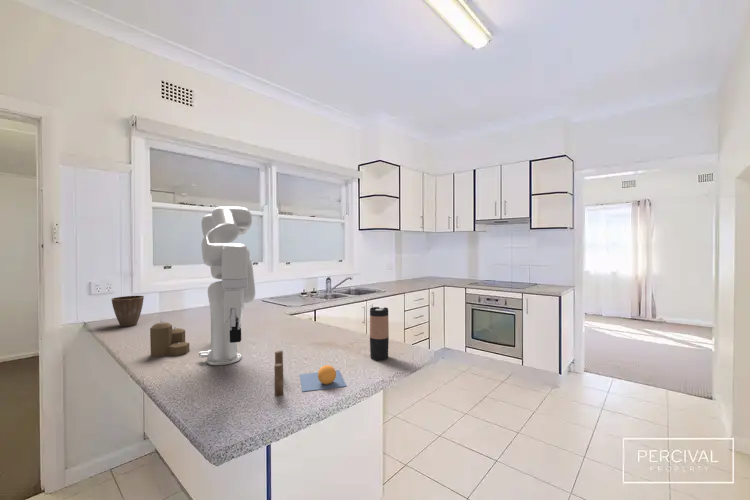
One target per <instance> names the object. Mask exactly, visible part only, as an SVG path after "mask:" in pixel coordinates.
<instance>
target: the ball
mask: <svg viewBox="0 0 750 500" xmlns="http://www.w3.org/2000/svg"><path fill="white" fill-rule="evenodd" d="M317 373H318V379H319V381H320V382H321V383H322V384H325V385H328V384H331V383H332V382H333V381H334V380H335V378H336V369H335V368H334V367H333V366H331V365H329V364H326V365H323V366H322V367H320V368H319V370H318V371H317Z"/></svg>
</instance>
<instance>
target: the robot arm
mask: <svg viewBox="0 0 750 500" xmlns="http://www.w3.org/2000/svg"><path fill="white" fill-rule="evenodd" d="M252 221H253V216H252V213H251V212H250V210H249V209H248V208H246V207H242V206H218V207H215V208H214V209H213V210H212V212H211V214H210V213H209V214H206V215H204V216H203V217H202V219H201V230H202V231H201V233H202V236H203V238H202V241H201V256H202V261H203V263H204V265H206V266H208V267H210V273H211V277H212V278H213V279H215V280H218V281H215V282H212V283H211V284H209V286H208V288H207V297H208V303H209V310H210V311H209V314H210V349H208V350H207V351H205V350H204V351H203V350H202V351H198V358H199V357H200V358H207V359H206V364H208V365H211V366H224V365H225V366H226V365H230V364H234V363H236V362H237V363H238V361H241V359H242V354H241V353H239V352H238V343H241V341H242V328H241V325H242V322H241V321H242V319H243V317H244V312H245V304H248V303H252V302H254V300H255V298H256V285H255V278H254V277H255V276H254V269H253V268H254V267H253V262H252V260H251V258H250V249H249V247H248V246H247V245H246V244H244V243H232V242H234V241H235V240H237V238H238V237H239V235H240V236H241V235H245V234H246V233H247V232H248V230H249V229H250V228H251V226H252Z"/></svg>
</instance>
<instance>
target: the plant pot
mask: <svg viewBox="0 0 750 500" xmlns="http://www.w3.org/2000/svg"><path fill="white" fill-rule="evenodd" d="M144 299H145V296H144V295H126V296H124V295H123V296H117V297H114V298H113V297H112V298H111V304H112V308H113V312H114V314H115V317H116V319H117V321H118V324H119V325H120V327H122V328H127V327H128V328H129V327H134V326H136V325H137V324H138V323H139V320H140V317H141V313H142V309H143V305H144V304H143V303H144Z"/></svg>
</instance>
